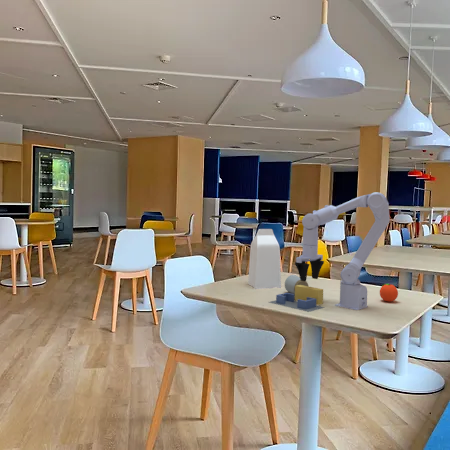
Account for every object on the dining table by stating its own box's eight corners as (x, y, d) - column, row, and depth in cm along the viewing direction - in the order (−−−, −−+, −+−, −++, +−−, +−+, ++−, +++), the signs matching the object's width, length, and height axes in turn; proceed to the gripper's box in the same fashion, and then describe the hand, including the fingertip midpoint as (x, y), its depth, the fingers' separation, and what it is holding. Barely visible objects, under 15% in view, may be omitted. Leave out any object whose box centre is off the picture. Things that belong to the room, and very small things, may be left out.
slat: (322, 304, 175) (323, 289, 174) (318, 306, 172) (318, 290, 172) (299, 299, 183) (300, 284, 182) (294, 300, 180) (295, 285, 180)
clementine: (373, 299, 185) (374, 282, 184) (387, 298, 187) (388, 281, 187) (387, 304, 177) (388, 285, 177) (401, 302, 180) (402, 284, 179)
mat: (324, 308, 169) (324, 307, 168) (308, 312, 162) (308, 311, 162) (284, 299, 182) (284, 298, 182) (267, 302, 175) (267, 302, 175)
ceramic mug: (294, 297, 187) (295, 278, 186) (283, 293, 194) (284, 275, 194) (316, 295, 191) (316, 277, 191) (304, 291, 198) (305, 274, 198)
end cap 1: (276, 302, 175) (276, 294, 174) (286, 300, 179) (286, 292, 179) (284, 304, 172) (284, 296, 172) (294, 302, 176) (294, 294, 176)
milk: (255, 288, 202) (256, 230, 201) (248, 283, 213) (249, 228, 212) (281, 287, 205) (282, 230, 203) (272, 283, 216) (273, 228, 215)
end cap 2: (316, 306, 169) (316, 298, 169) (305, 309, 165) (306, 301, 165) (307, 304, 172) (307, 297, 172) (297, 307, 167) (297, 299, 167)
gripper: (312, 242, 184) (311, 276, 185) (290, 245, 174) (289, 280, 175) (327, 244, 179) (326, 278, 180) (305, 246, 169) (304, 283, 170)
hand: (309, 279), depth 177 cm, fingers open, 7 cm apart
